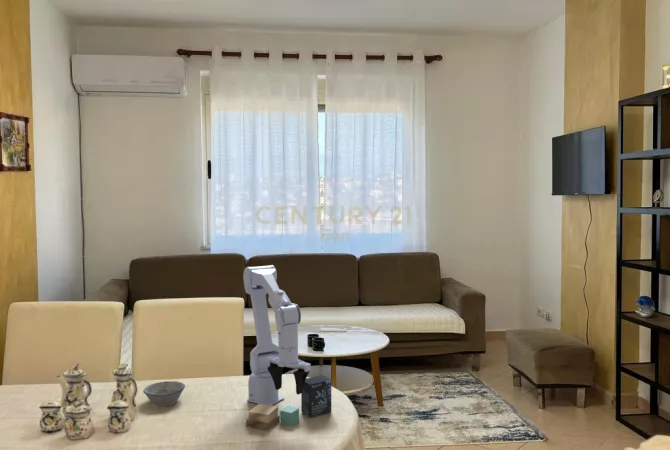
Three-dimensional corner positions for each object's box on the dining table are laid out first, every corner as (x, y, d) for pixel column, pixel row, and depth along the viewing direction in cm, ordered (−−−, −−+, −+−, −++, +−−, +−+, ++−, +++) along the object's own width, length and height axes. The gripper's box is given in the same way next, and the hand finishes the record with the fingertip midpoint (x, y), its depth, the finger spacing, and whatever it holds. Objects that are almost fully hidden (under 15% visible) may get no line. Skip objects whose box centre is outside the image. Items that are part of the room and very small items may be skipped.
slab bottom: (246, 427, 169) (246, 419, 169) (261, 419, 175) (260, 411, 175) (265, 432, 165) (265, 424, 165) (279, 423, 171) (279, 415, 171)
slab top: (248, 420, 168) (248, 411, 168) (258, 411, 174) (258, 403, 174) (268, 423, 166) (268, 414, 166) (277, 414, 172) (277, 406, 172)
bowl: (177, 409, 181) (176, 394, 181) (137, 408, 182) (137, 394, 182) (190, 394, 194) (190, 380, 194) (153, 393, 195) (153, 379, 195)
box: (310, 418, 174) (310, 384, 173) (301, 412, 178) (300, 379, 178) (332, 412, 178) (331, 379, 177) (322, 406, 183) (322, 374, 182)
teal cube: (280, 423, 171) (280, 410, 170) (288, 418, 174) (288, 405, 174) (291, 426, 168) (291, 413, 168) (299, 421, 172) (299, 408, 172)
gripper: (260, 345, 170) (261, 390, 171) (300, 353, 162) (301, 400, 163) (274, 340, 176) (275, 383, 177) (314, 346, 168) (315, 392, 169)
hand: (288, 391), depth 170 cm, fingers open, 7 cm apart
